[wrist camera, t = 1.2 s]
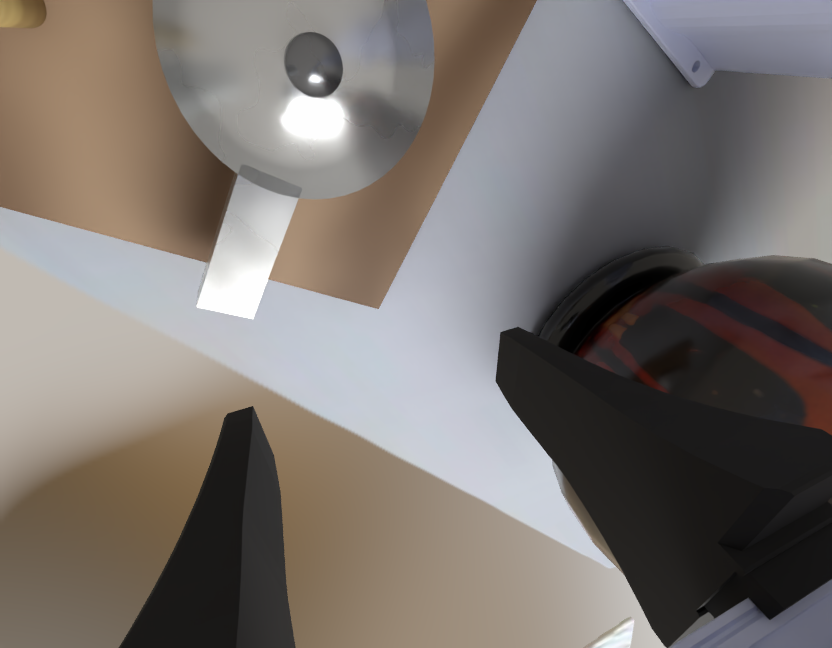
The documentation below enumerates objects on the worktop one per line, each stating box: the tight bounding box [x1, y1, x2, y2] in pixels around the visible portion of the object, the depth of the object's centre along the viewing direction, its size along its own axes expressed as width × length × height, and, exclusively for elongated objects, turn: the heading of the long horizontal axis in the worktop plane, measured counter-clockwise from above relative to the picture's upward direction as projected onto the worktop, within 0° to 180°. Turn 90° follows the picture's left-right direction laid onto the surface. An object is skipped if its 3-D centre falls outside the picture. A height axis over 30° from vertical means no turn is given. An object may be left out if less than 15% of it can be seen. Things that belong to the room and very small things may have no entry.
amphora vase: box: [539, 246, 832, 574], centre depth 22 cm, size 22×22×28 cm
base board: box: [0, 0, 537, 309], centre depth 13 cm, size 16×16×4 cm
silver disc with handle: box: [153, 0, 435, 319], centre depth 13 cm, size 13×8×2 cm, turn 150°
